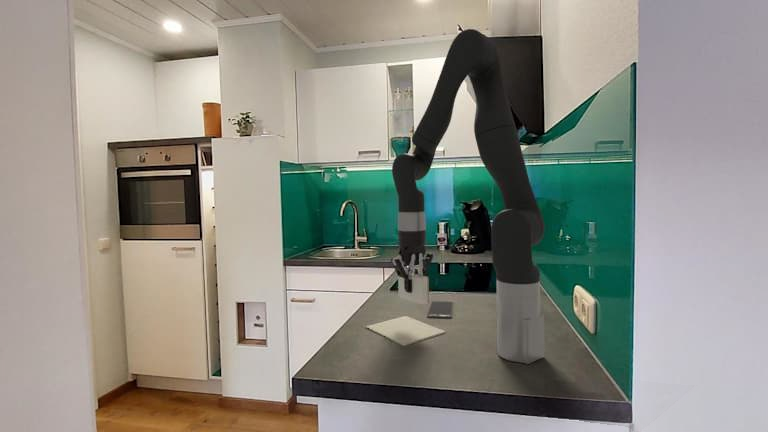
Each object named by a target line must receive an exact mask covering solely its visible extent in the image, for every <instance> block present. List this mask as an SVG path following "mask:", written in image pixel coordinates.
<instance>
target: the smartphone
mask: <svg viewBox="0 0 768 432" xmlns="http://www.w3.org/2000/svg"><path fill="white" fill-rule="evenodd" d="M453 308H454V302H453V301H441V300H440V301H437V300H435V301H434V300H433V301H431V302H430V305H429V308H428V311H427V315H426V316H427V318H431V319H432V318H435V319H436V318H437V319H451V318H452V317H453Z"/></svg>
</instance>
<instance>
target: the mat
mask: <svg viewBox="0 0 768 432" xmlns="http://www.w3.org/2000/svg"><path fill="white" fill-rule="evenodd" d="M365 327H367V328H366V329H368V328H369V329H368V330H369V331H370V330H371V331H372V332H375V334H378V335H380V336H382V337H384V336H385V337H384V338H386V339H389V340H391V341H392V342H394V343H396V344H398V345H401V346H403V347H405V346H408V345H411V344H412V345H413V344H415V343H417V342H421V341H423V340H424V341H425V340H427V339H430V338H434V337H437V336H439V335H442V334H446V330H443V329H441V328H437V327H435V326H433V325H430V324H427V323H425V322H422V321H419V320H417V319H414V318H413V317H409V316H407V315H404V316H400V317H396V318H393V319H389V320H386V321H382V322H378V323H374V324H370V325H367V326H365Z"/></svg>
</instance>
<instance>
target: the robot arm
mask: <svg viewBox="0 0 768 432" xmlns="http://www.w3.org/2000/svg"><path fill="white" fill-rule="evenodd" d="M501 65H502V64H501V58H500V51H499V49H498V46H497V45H496V42H494V40H493V39H491V38H489V37H488V36H486V35H485V34H483V33H482V32H480V31H478V30H477V29H473V28H468V29H464V30H462V31H460V33H458V34H457V35H456V36H455V38H454V39H453V41H452V42H451V44H450V46H449V49H448V52H447V54H446V57H445V60H444V62H443V65H442V68H441V71H440V73H439V77H438V79H437V82H436V85H435V88H434V90H433V93H432V96H431V98H430V101H429V103H428V105H427V108H426V110H425V111H424V113H423V115H422V117H421V119H420V121H419V123H418V125H417V127H416V128H415V131H414V132H413V134H412V137H411V141H412V145H414V146H415V147H414V149H413V152H412V153H400V154H398V155H397V156H396V157H395V158H394V160H393V162H392V165H391V166H392V167H391V172H392V173H391V174H392V178H393V182H394V186H395V191H396V193H397V197H398V198H397V199H398V204H397V205H398V217H397V239H398V240H397V241H398V242H397V243H398V246H399V250H398V255H397V256H395V257H391V258H390V262H391V263H392V264H391V265H392V266H393V269H394V271H395V273H396V275H397V277H398V276H399V277H402V278H404V289H405V290H406V292H408V293H412V273H414V274H418V275H422V276H425V275H427V274H429V273H428V272H429V270H430V267H431V264H432V261H433V258H434V254H433V253H430V252H428V251H427V250H426V247H425V246H427V226H426V225H427V220H426V219H427V218H426V211H425V194H424V192H423V191H422V190H421V189H418V186H417V182H416V181H420V180H423V179H424V178H425V177H426V176H427V175H428V173H429V171H430V170H431V167H432V165H433V161H434V158H435V156H436V151H437V148H438V146H439V145H440V143H441V141H442V140H443V138H444V136H445V134H446V133H447V130H448V128H449V127H450V124H451V121H452V116H453V112H454V106H455V101H456V98H457V95H458V92H459V90H460V88H461V86H462V84H463V83H464V81H465V79H466V78H467V76H468V78H469V81H470V83H471V85H472V90H473V93H474V96H475V97H474V98H475V104H476V105H475V114H474V122H473V130H474V131H473V133H474V138H475V142H476V145H477V149H478V153H479V156H480V159H481V162H482V163H483V165H484V167H485V169H486V170H487V172H488V173H489V174H490V176H491V178H492V179H493V181H494V182H495V184H496V186H497V187H498V189H499V191H500V194H501V198H502V201H503V206H504V210H501V211H500V212H498V213H497V214H496V215H495V217H494V218H493V220H492V223H491V228H490V229H491V230H490V232H491V233H490V235H491V236H490V238H491V239H490V241H491V258H492V266H493V267H494V270H495V273H496V276H495V277H496V335H497V336H496V338H497V339H496V340H497V345H496V346H497V349H496V350H497V354H498V356H500V358H503V359H504V360H507V361H511V362H514V363H523V364H526V365H529V364H532V363H534V362H535V361H536V362H537V361H538V360H540V359H543V358H545V316H544V315H543V314H541V283H540V282H541V281H540V280H541V278H540V277H541V274H540V273H541V272H540V268H539V267H538V266H537V265H535V264H534V261H533V254H532V253H533V250H532V247H534V246H536V245H538V244H540V243H541V241H542V240H543V238H544V235H545V233H546V232H545V231H546V225H545V220H544V217H543V215H542V211H541V209H540V207H539V204H538V202H537V199H536V197H535V193H534V191H533V188H532V186H531V181H530V179H529V175H528V170H527V166H526V162H525V157H524V154H523V152H522V150H523V149H522V147H521V142H520V138H519V134H518V131H517V130H518V129H517V126H516V124H515V121H514V116H513V113H512V110H511V105H510V102H509V99H508V96H507V93H506V89H505V84H504V79H503V72H502V66H501Z"/></svg>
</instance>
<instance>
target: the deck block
mask: <svg viewBox="0 0 768 432" xmlns="http://www.w3.org/2000/svg"><path fill="white" fill-rule="evenodd" d="M397 277H398V278H397V280H398V281H397V282H398V283H397V286H398V290H397V291H398V298H400V299H403V300H406V301H409V302H413V303H415V304H418V305H421V306H423V305H427V304H429V303H430V291H429V289H430V288H429V287H430V285H429V284H430V282H429V280H430V279H429V278H430V277H429V276H426V275H423V276H422V275H418V274H414V272H412V293H408V292H406V290H405V289H404V278H402V277H399V276H398V275H397Z"/></svg>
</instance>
